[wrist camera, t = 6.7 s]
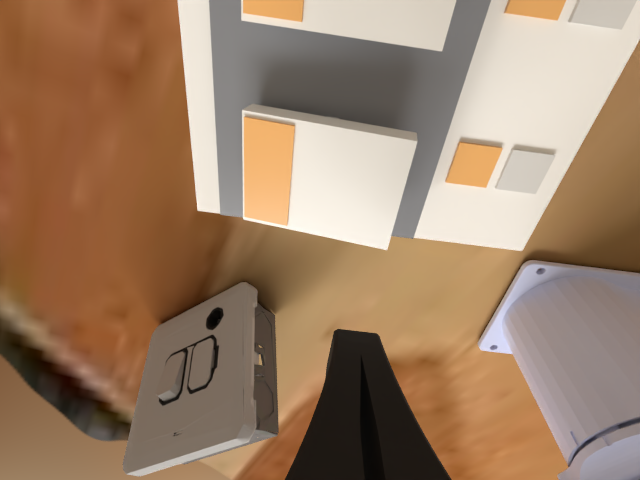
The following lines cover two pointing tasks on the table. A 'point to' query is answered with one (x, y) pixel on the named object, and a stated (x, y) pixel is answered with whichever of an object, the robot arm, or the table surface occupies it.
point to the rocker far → (324, 174)
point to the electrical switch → (206, 384)
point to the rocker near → (360, 19)
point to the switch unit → (420, 103)
